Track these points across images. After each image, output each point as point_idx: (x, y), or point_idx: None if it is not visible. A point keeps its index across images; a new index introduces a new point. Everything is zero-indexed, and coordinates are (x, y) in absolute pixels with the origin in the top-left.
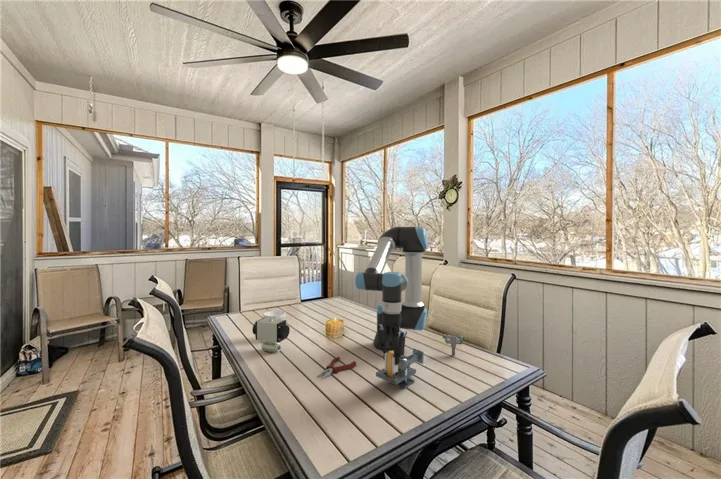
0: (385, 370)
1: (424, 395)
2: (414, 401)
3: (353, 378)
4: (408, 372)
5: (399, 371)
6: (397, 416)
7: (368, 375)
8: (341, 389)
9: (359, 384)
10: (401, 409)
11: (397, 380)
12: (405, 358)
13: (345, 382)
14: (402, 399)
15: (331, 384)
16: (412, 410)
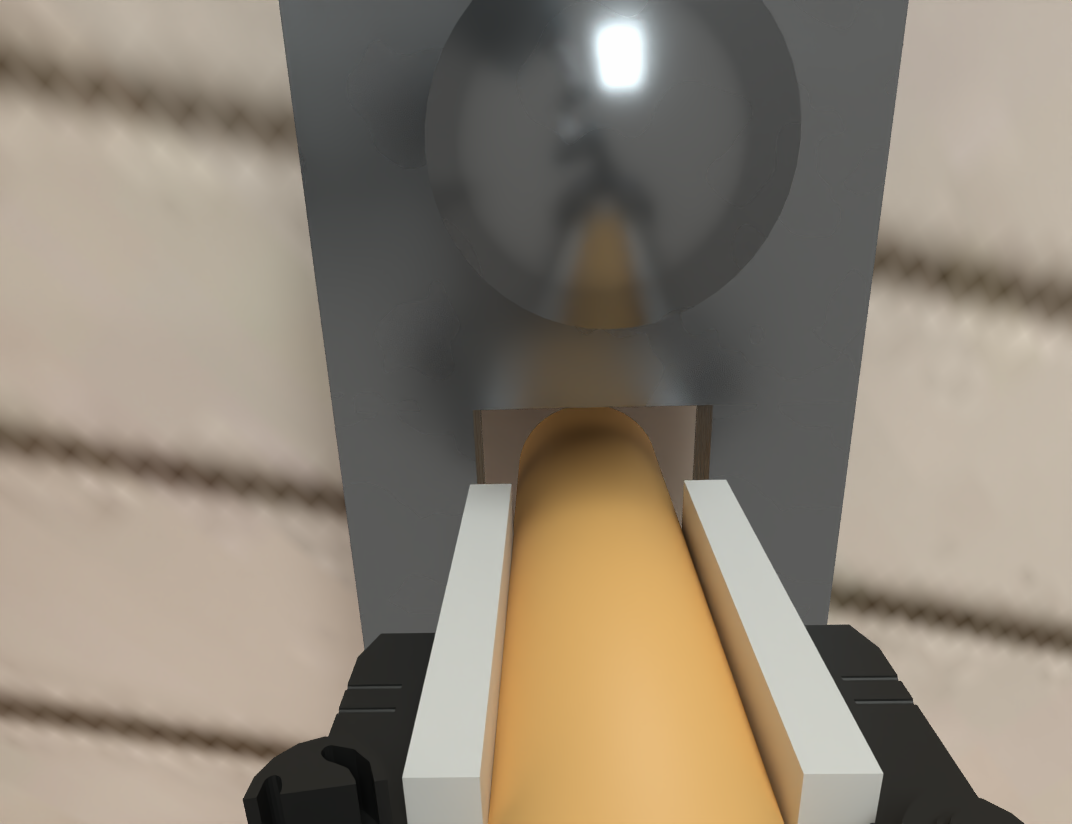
0: (423, 491)
1: (1062, 220)
2: (1000, 445)
3: (36, 558)
4: (840, 222)
5: (656, 325)
6: (966, 765)
7: (71, 352)
8: (195, 797)
9: (221, 608)
10: (943, 662)
11: (826, 613)
12: (707, 40)
13: (77, 683)
14: (850, 510)
15: (33, 801)
16: (1057, 602)
